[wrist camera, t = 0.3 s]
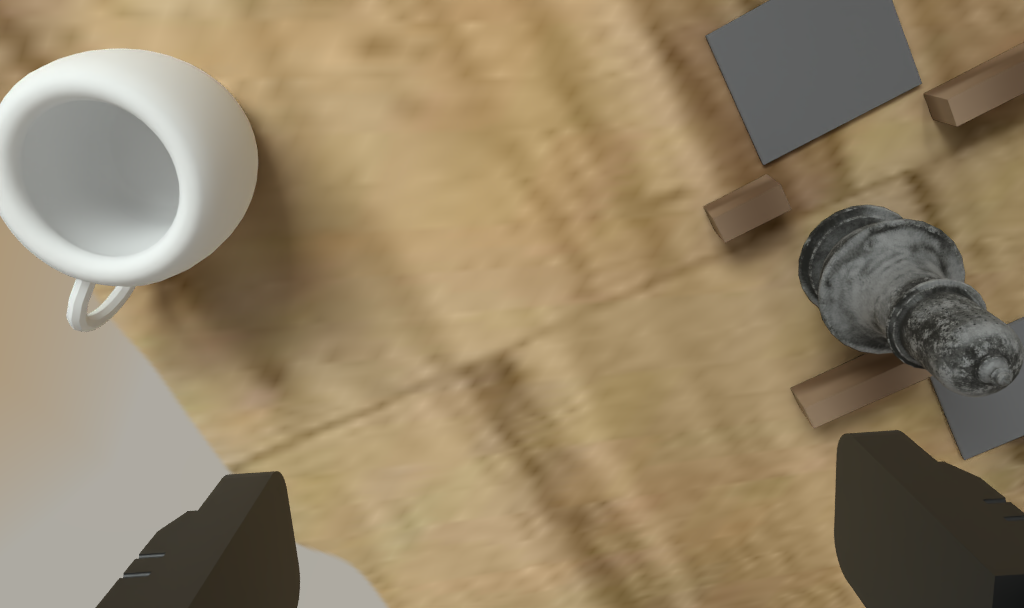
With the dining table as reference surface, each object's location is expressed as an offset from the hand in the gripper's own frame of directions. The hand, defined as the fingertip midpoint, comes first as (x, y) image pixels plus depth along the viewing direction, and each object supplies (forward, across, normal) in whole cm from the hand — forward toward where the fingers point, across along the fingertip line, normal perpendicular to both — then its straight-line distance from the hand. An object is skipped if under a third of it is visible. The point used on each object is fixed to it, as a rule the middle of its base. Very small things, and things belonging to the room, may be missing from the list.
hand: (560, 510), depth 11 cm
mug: (+25, +15, -4) cm, 30 cm away
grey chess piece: (+25, -15, +2) cm, 29 cm away
